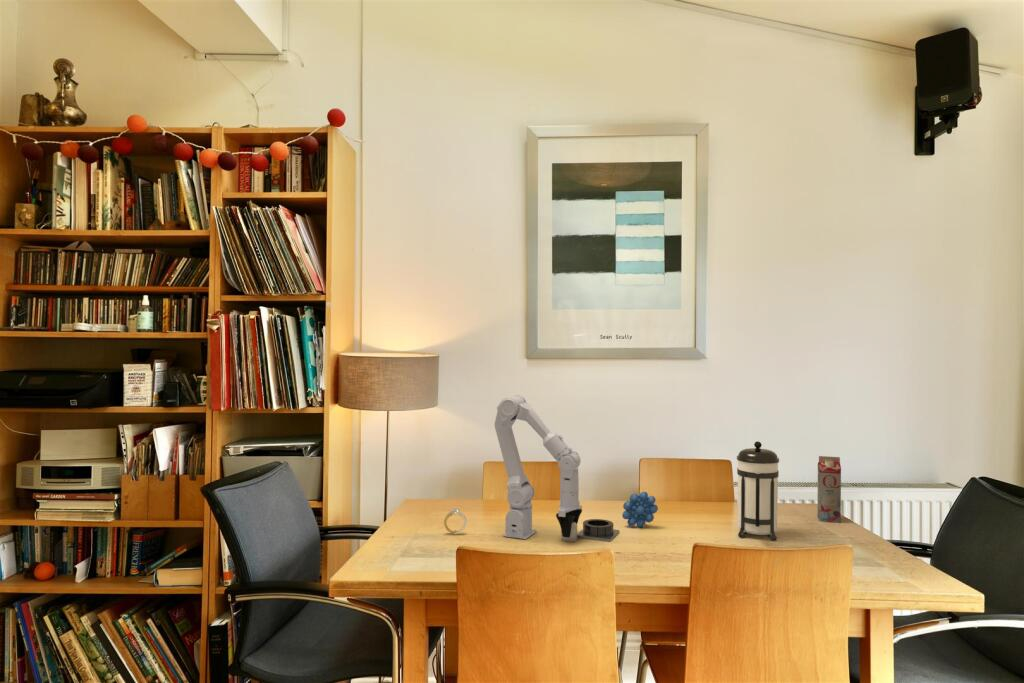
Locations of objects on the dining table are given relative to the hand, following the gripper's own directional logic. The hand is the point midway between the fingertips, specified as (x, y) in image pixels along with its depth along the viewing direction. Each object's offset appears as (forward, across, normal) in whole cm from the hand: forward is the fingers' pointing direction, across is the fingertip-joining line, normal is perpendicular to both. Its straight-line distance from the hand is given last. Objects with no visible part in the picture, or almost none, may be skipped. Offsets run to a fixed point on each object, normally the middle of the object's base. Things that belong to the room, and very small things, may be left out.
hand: (569, 534), depth 212 cm
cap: (+1, 0, 0) cm, 1 cm away
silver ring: (+2, -10, +35) cm, 36 cm away
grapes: (+2, +23, -17) cm, 29 cm away
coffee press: (+2, +28, -54) cm, 61 cm away
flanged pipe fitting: (+1, +8, -7) cm, 11 cm away
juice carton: (+2, +59, -75) cm, 95 cm away
